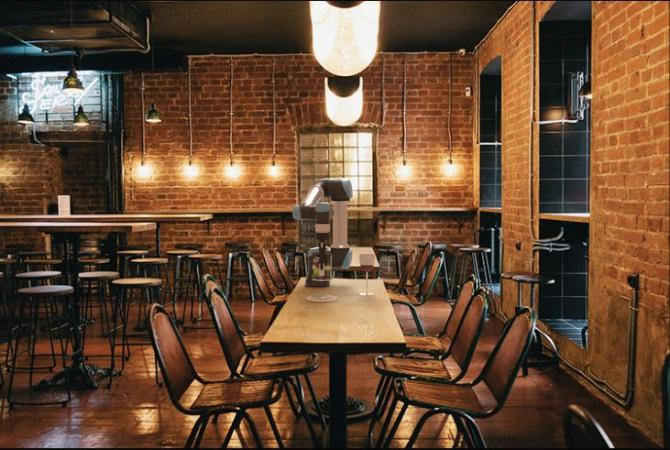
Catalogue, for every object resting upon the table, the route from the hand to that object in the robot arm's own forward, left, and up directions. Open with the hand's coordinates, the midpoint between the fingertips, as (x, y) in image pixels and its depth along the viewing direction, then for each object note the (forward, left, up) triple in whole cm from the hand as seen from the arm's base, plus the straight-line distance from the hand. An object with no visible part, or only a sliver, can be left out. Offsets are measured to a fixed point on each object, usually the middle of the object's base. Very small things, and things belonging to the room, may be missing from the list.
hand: (322, 274), depth 312 cm
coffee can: (0, 0, -3) cm, 3 cm away
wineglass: (-20, +24, -13) cm, 34 cm away
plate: (0, 0, -13) cm, 13 cm away
